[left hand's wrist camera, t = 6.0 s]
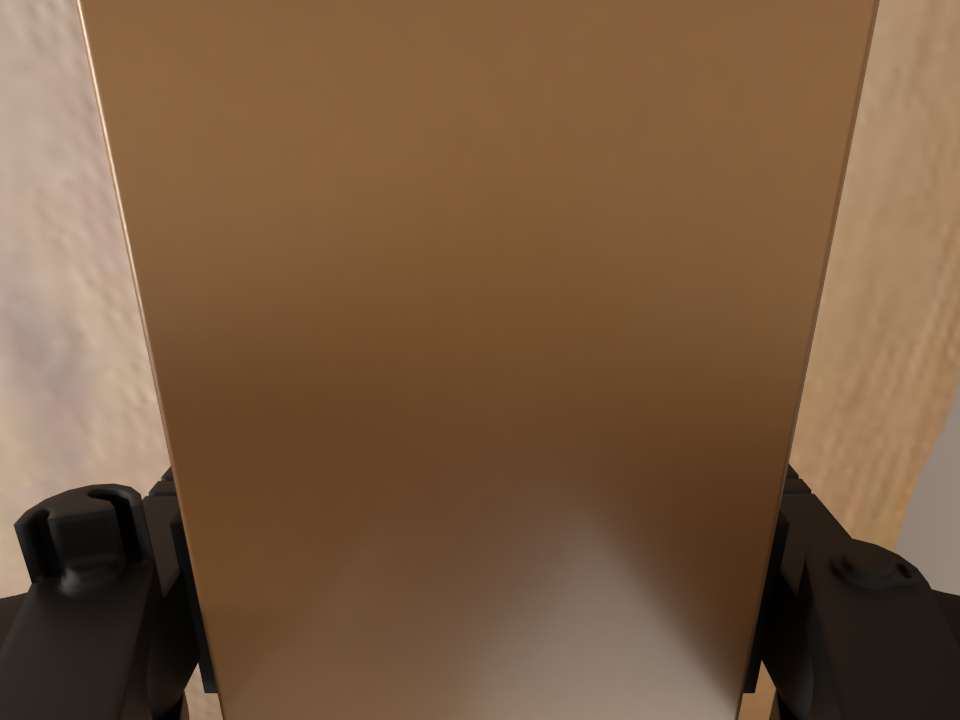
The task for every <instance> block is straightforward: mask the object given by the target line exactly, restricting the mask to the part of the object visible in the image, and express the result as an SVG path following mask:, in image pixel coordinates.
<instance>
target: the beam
mask: <svg viewBox="0 0 960 720" xmlns="http://www.w3.org/2000/svg"><path fill="white" fill-rule="evenodd" d="M879 1H880V0H76V4H77V9H78V14H79V19H80V24H81V28H82V33H83V38H84V43H85V48H86V53H87V58H88V63H89V67H90V72H91V77H92V82H93V87H94V92H95V97H96V102H97V106H98V111H99V116H100V121H101V126H102V131H103V136H104V141H105V146H106V150H107V155H108V160H109V165H110V170H111V175H112V180H113V185H114V189H115V194H116V199H117V204H118V209H119V214H120V219H121V224H122V228H123V233H124V238H125V243H126V248H127V253H128V258H129V263H130V268H131V272H132V277H133V282H134V287H135V292H136V297H137V302H138V307H139V311H140V316H141V321H142V326H143V331H144V336H145V341H146V346H147V350H148V355H149V360H150V365H151V370H152V375H153V380H154V385H155V389H156V394H157V399H158V404H159V409H160V414H161V419H162V424H163V429H164V433H165V438H166V443H167V448H168V453H169V458H170V463H171V468H172V472H173V477H174V482H175V487H176V492H177V497H178V502H179V507H180V511H181V516H182V521H183V526H184V531H185V536H186V541H187V546H188V551H189V555H190V560H191V565H192V570H193V575H194V580H195V585H196V590H197V594H198V599H199V604H200V609H201V614H202V619H203V624H204V629H205V633H206V638H207V643H208V648H209V653H210V658H211V663H212V668H213V673H214V677H215V682H216V687H217V692H218V697H219V702H220V707H221V712H222V716H223V720H738V717H739V712H740V707H741V702H742V696H743V691H744V686H745V681H746V676H747V671H748V666H749V661H750V656H751V651H752V646H753V641H754V635H755V630H756V625H757V620H758V615H759V610H760V605H761V600H762V595H763V590H764V585H765V580H766V575H767V569H768V564H769V559H770V554H771V549H772V544H773V539H774V534H775V529H776V524H777V519H778V514H779V509H780V503H781V498H782V493H783V488H784V483H785V478H786V473H787V468H788V463H789V458H790V453H791V448H792V443H793V437H794V432H795V427H796V422H797V417H798V412H799V407H800V402H801V397H802V392H803V387H804V382H805V377H806V371H807V366H808V361H809V356H810V351H811V346H812V341H813V336H814V331H815V326H816V321H817V316H818V311H819V305H820V300H821V295H822V290H823V285H824V280H825V275H826V270H827V265H828V260H829V255H830V250H831V245H832V239H833V234H834V229H835V224H836V219H837V214H838V209H839V204H840V199H841V194H842V189H843V184H844V178H845V173H846V168H847V163H848V158H849V153H850V148H851V143H852V138H853V133H854V128H855V123H856V118H857V112H858V107H859V102H860V97H861V92H862V87H863V82H864V77H865V72H866V67H867V62H868V57H869V52H870V46H871V41H872V36H873V31H874V26H875V21H876V16H877V11H878V6H879Z"/></svg>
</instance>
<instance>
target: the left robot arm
mask: <svg viewBox="0 0 960 720" xmlns="http://www.w3.org/2000/svg"><path fill="white" fill-rule="evenodd" d="M798 476H799V475H798V474H797V473H796V472H795V470H794V469H793V468H792V467H791V466H790V465H789V463H788V468H787V473H786V478H785V483H784V488H783V493H782V498H781V503H780V509H779V514H778V519H777V524H776V529H775V534H774V539H773V544H772V549H771V554H770V559H769V564H768V569H767V575H766V580H765V585H764V590H763V595H762V600H761V605H760V610H759V615H758V620H757V625H756V630H755V635H754V641H753V646H752V651H751V656H750V661H749V666H748V671H747V676H746V681H745V686H744V691H743V693H755V689H756V684H757V680H758V675H759V670H760V665H761V660H762V661H763V663H764V665H765V667H766V669H767V671H768V673H769V675H770V677H771V679H772V681H773V683H774V685H775V687H776V691H775V695H774V700H773V704H772V709H771V713H770V718H769V720H960V596H958V595H954V594H949V593H944V592H940V591H936V590H932V589H931V587H930V585H929V583H928V582H927V580H926V579H925V578H924V577H923V575H922V574H921V573H920V571H919V570H918V569H917V568H916V567H915V566H913V565H912V564H911V563H909V562H908V561H906V560H905V559H904V558H902V557H901V556H900V555H898V554H896V553H893V552H891V551H889V550H887V549H885V548H882V547H880V546H878V545H875V544H871V543H868V542H864V541H860V540H856V539H852V538H851V537H850V535H849V534H848V533H847V532H846V531H845V530H844V528H843V527H842V526H841V525H840V524H839V522H838V521H837V520H836V519H835V518H834V517H833V515H832V514H831V513H830V512H829V511H828V509H827V508H826V507H825V506H824V505H823V504H822V502H821V501H820V500H819V499H818V498H817V496H816V495H815V494H811V489H810V488H809V487H808V486H807V485H806V483H805V482H804V481H803V480H802V479H799V477H798ZM14 527H15V531H16V534H17V537H18V540H19V543H20V547H21V550H22V553H23V556H24V559H25V562H26V566H27V569H28V572H29V575H30V578H31V582H32V584H31V587H30V589H29V591H28V592H27V593H23V594H20V595H16V596H11V597H6V598H1V599H0V720H189V711H188V705H187V700H186V695H185V691H184V689H185V687H186V685H187V683H188V681H189V679H190V677H191V675H192V673H193V671H194V669H195V667H196V665H197V663H199V668H200V672H201V677H202V682H203V687H204V692H205V693H218V692H217V687H216V682H215V677H214V673H213V668H212V663H211V658H210V653H209V648H208V643H207V638H206V633H205V629H204V624H203V619H202V614H201V609H200V604H199V599H198V594H197V590H196V585H195V580H194V575H193V570H192V565H191V560H190V555H189V551H188V546H187V541H186V536H185V531H184V526H183V521H182V516H181V511H180V507H179V502H178V497H177V492H176V487H175V482H174V477H173V472H172V468H171V467H170V468H169V469H168V470H167V471H166V473H165V474H164V475H163V476H162V477H161V481H158V482H157V483H156V484H155V486H154V487H153V488H152V489H151V490H150V492H149V496H145V498H144V499H143V500H142V498H141V494H140V493H138V492H137V491H136V490H134V489H133V488H132V487H129V486H123V485H118V484H98V485H89V486H85V487H81V488H76V489H72V490H68V491H65V492H63V493H60V494H58V495H55V496H53V497H50V498H48V499H45V500H44V501H42V502H40V503H39V504H37V505H35V506H34V507H32V508H31V509H29V510H27V511H26V512H25V513H24V514H23V515H22V516H21V517H20V518H19V519H18V521H17V522H16V523H15V524H14Z"/></svg>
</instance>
